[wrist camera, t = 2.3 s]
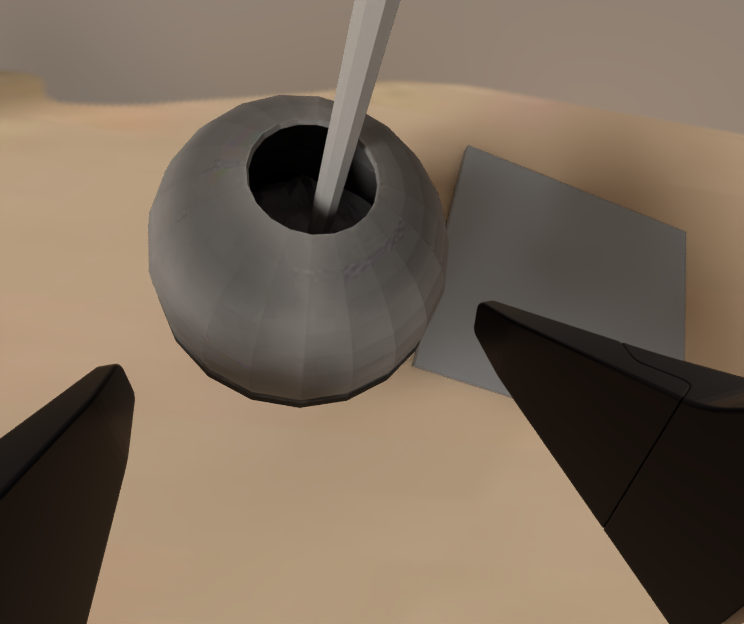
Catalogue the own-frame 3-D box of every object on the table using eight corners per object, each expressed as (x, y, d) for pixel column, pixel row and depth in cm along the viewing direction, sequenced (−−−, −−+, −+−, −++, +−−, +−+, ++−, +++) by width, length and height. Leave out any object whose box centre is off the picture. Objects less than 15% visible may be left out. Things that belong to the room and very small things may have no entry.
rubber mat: (674, 449, 24) (683, 449, 23) (411, 365, 22) (414, 364, 21) (678, 235, 28) (686, 231, 28) (464, 150, 26) (468, 145, 26)
